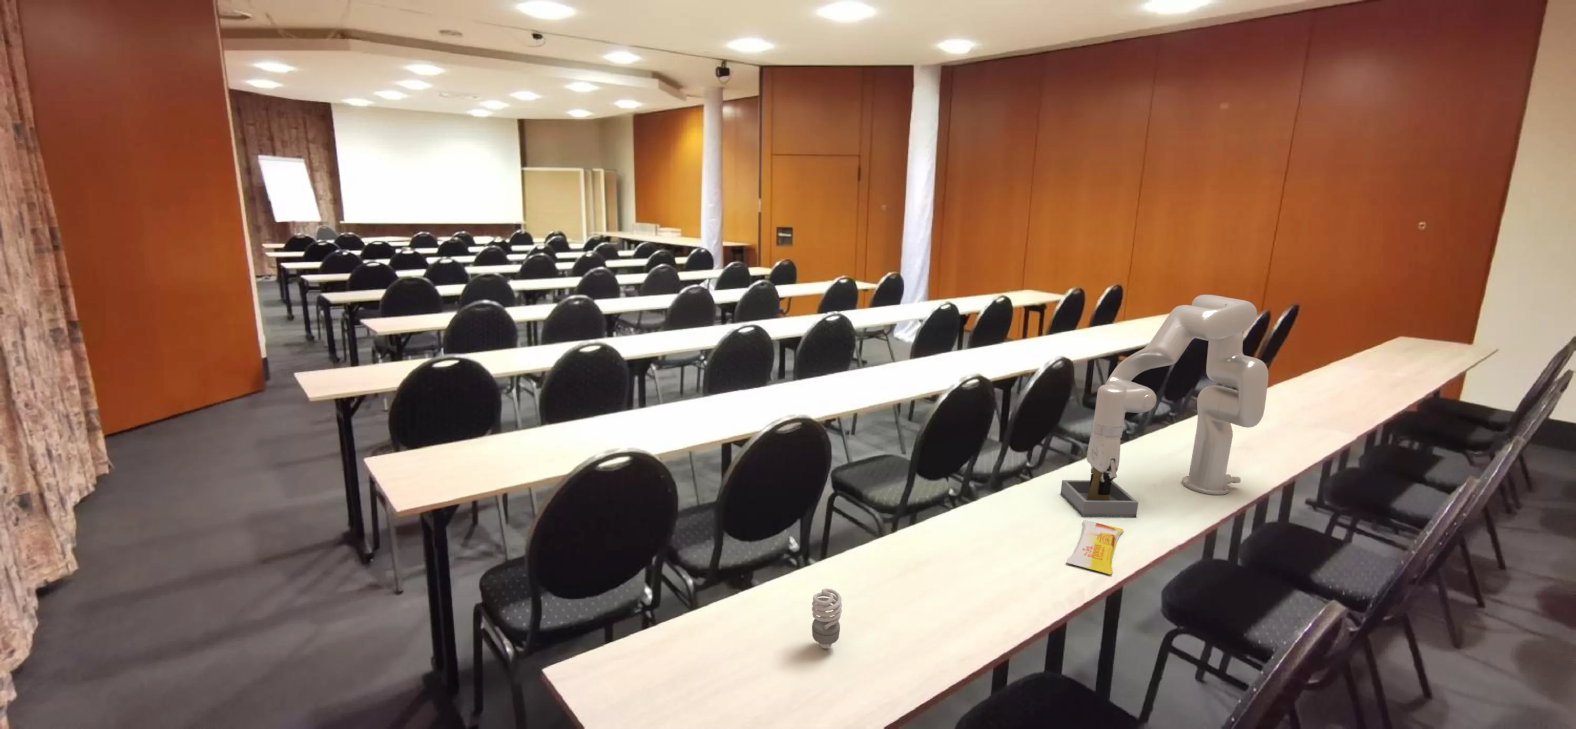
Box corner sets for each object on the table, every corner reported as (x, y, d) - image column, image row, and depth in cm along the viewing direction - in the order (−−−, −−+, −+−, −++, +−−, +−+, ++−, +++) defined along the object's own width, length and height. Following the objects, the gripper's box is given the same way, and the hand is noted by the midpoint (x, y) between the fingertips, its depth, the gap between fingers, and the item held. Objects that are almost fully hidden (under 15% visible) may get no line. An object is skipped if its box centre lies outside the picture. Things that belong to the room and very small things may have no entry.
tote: (1110, 494, 211) (1112, 480, 210) (1136, 517, 196) (1138, 502, 195) (1060, 494, 210) (1062, 480, 209) (1082, 517, 196) (1084, 501, 195)
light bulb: (808, 639, 140) (810, 584, 137) (837, 638, 140) (839, 583, 137) (812, 657, 134) (814, 600, 131) (841, 656, 135) (844, 599, 132)
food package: (1112, 570, 165) (1066, 558, 170) (1110, 579, 166) (1065, 567, 170) (1124, 525, 188) (1083, 515, 193) (1123, 532, 189) (1082, 523, 193)
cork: (1112, 507, 200) (1116, 470, 197) (1089, 505, 201) (1093, 469, 198) (1107, 498, 205) (1111, 462, 203) (1084, 496, 207) (1089, 461, 204)
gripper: (1081, 419, 206) (1073, 478, 210) (1108, 439, 190) (1099, 503, 194) (1106, 420, 206) (1098, 479, 211) (1136, 439, 190) (1127, 503, 194)
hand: (1099, 490), depth 202 cm, fingers open, 4 cm apart
